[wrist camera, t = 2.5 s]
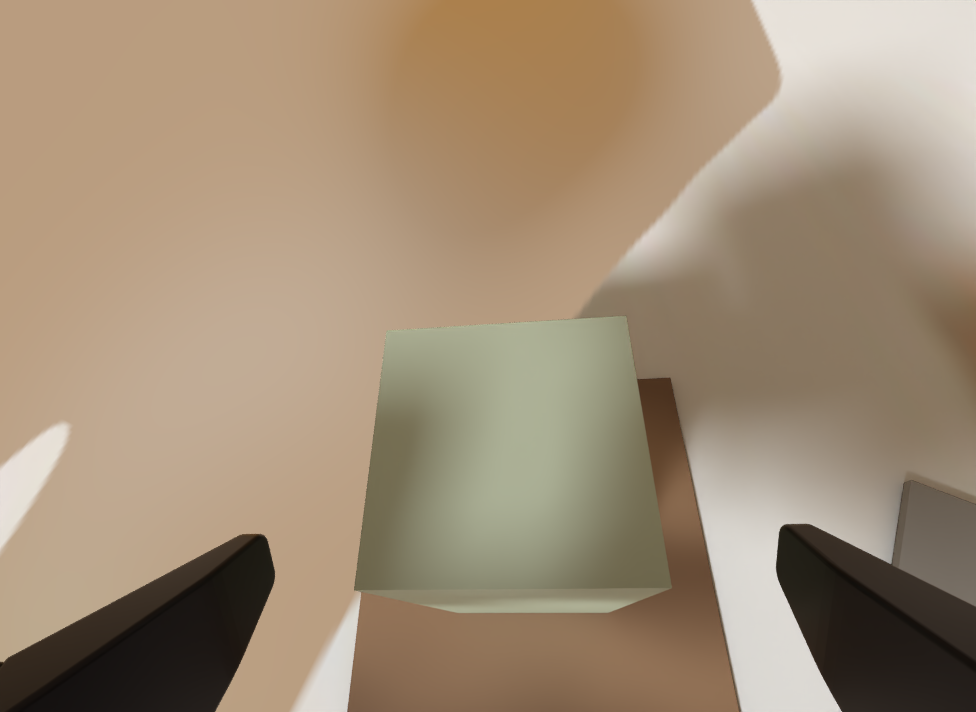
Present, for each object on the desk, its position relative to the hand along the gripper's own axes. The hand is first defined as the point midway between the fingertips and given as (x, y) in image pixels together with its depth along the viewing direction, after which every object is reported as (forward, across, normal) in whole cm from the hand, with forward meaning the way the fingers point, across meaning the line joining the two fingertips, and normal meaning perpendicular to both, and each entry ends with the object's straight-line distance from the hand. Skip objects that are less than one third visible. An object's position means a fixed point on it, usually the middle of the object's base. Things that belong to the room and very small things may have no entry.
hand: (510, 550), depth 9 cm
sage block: (+8, 0, +5) cm, 10 cm away
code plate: (+8, 0, +6) cm, 10 cm away
